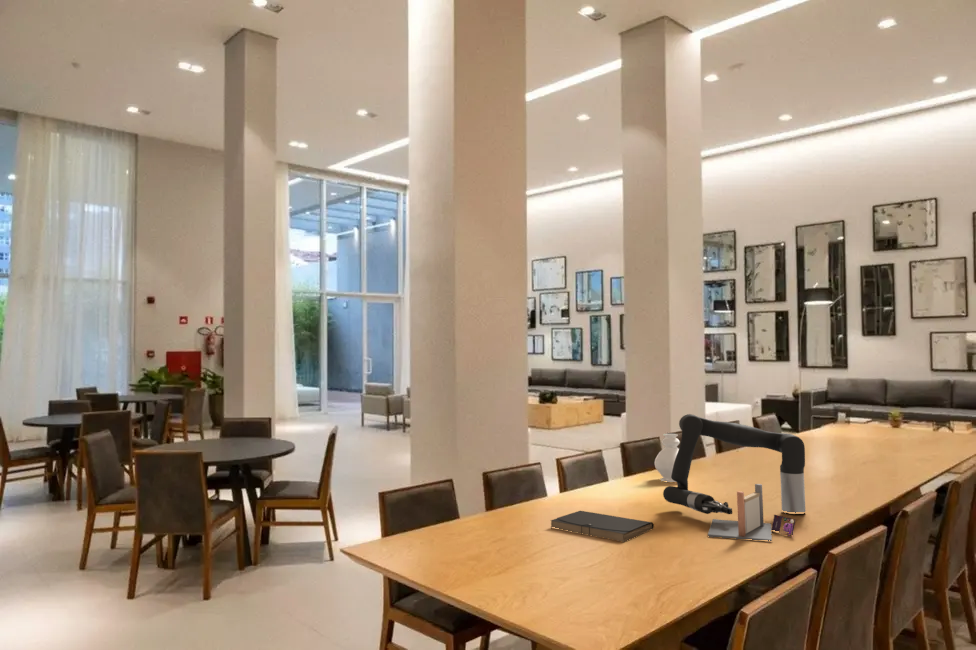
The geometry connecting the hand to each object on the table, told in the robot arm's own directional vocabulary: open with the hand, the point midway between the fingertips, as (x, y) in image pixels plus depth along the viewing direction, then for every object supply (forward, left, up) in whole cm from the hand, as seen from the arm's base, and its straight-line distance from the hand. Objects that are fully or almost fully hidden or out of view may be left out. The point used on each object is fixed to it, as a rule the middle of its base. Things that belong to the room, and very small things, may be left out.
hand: (730, 511), depth 252 cm
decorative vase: (-94, -35, -7) cm, 100 cm away
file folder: (+15, -48, -8) cm, 51 cm away
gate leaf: (+3, +7, -5) cm, 10 cm away
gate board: (+1, +3, -7) cm, 8 cm away
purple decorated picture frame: (-1, +19, -7) cm, 21 cm away
